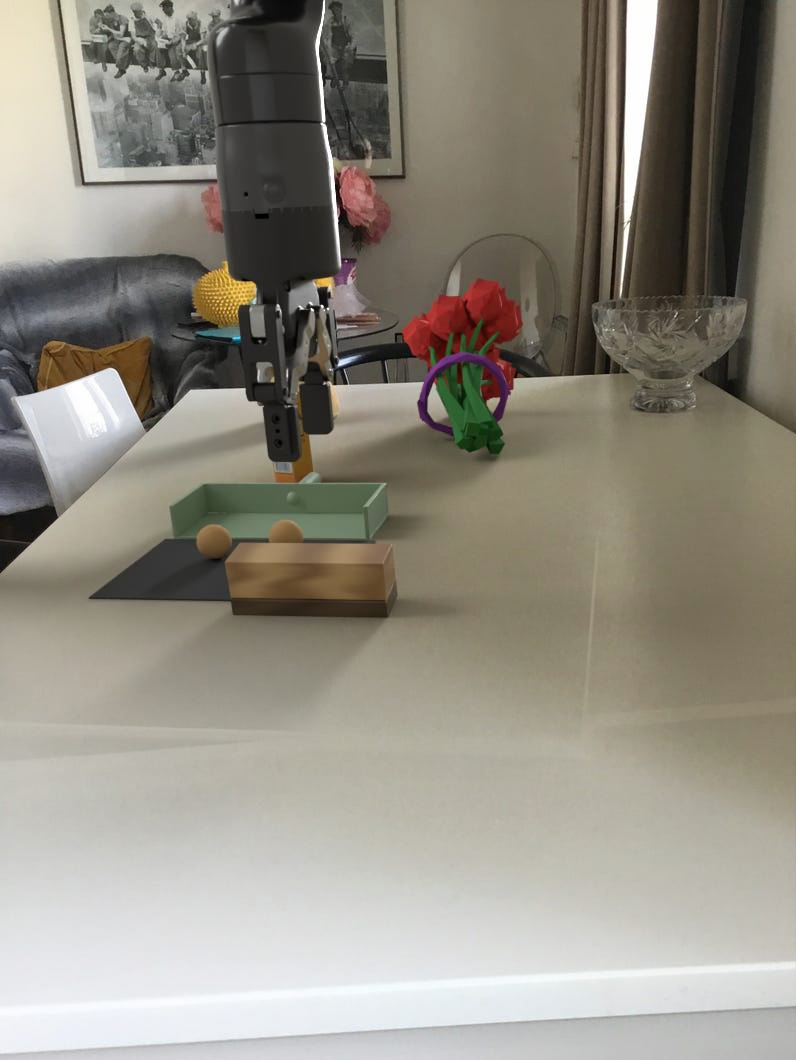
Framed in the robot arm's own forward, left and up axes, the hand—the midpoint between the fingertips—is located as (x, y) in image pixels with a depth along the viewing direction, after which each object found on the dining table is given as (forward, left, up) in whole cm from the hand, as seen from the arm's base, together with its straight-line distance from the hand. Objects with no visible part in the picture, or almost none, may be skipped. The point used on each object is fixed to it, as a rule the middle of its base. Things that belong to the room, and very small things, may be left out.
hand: (303, 446), depth 76 cm
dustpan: (-9, +26, -13) cm, 30 cm away
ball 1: (-12, +11, -11) cm, 20 cm away
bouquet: (+4, +63, -13) cm, 65 cm away
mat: (-9, +9, -13) cm, 18 cm away
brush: (0, 0, -13) cm, 13 cm away
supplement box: (-13, +38, -13) cm, 43 cm away
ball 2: (-6, +13, -11) cm, 18 cm away
